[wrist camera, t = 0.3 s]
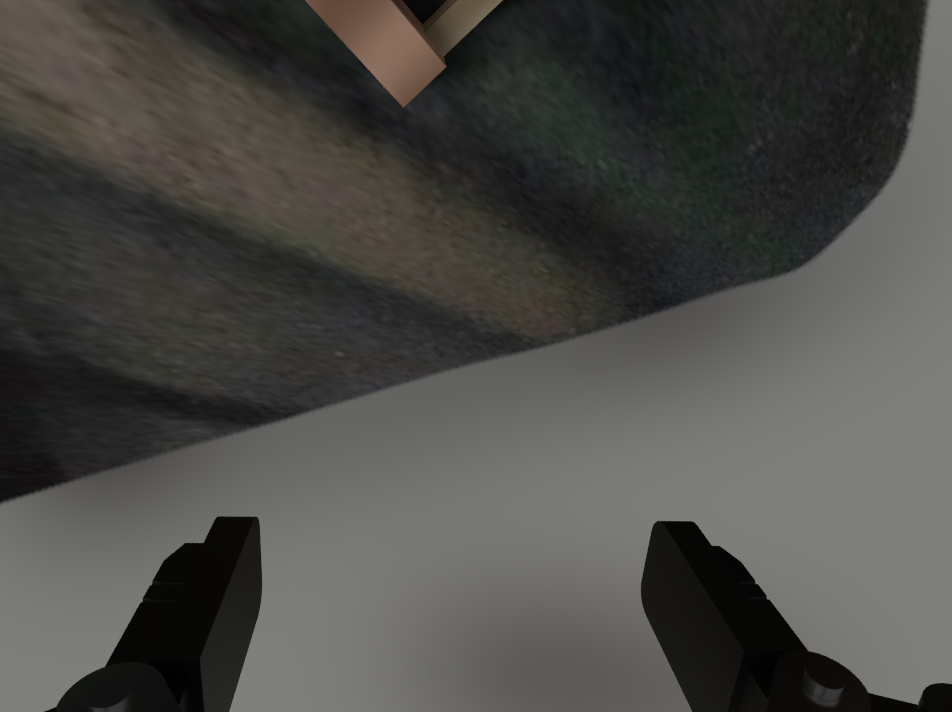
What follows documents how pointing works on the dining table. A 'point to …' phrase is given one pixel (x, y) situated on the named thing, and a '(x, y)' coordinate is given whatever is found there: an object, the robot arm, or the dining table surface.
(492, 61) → the dining table surface
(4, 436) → the dining table surface
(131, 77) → the dining table surface
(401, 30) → the guide channel
